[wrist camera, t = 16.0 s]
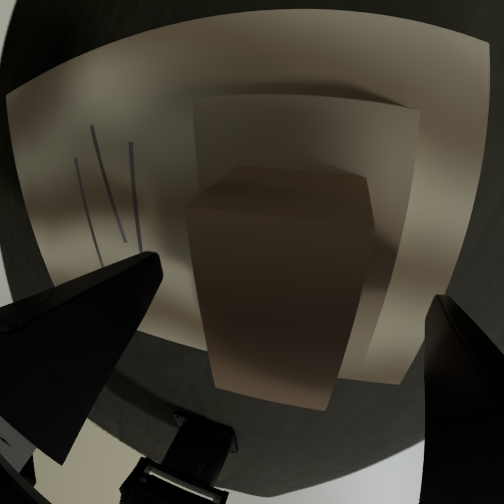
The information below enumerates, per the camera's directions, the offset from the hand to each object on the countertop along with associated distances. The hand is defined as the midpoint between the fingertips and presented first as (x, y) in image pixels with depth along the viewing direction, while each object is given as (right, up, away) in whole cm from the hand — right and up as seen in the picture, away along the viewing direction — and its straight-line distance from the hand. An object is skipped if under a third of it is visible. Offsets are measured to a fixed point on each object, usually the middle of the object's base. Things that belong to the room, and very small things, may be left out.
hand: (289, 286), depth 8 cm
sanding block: (+1, +1, +2) cm, 3 cm away
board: (-4, +3, +5) cm, 8 cm away
